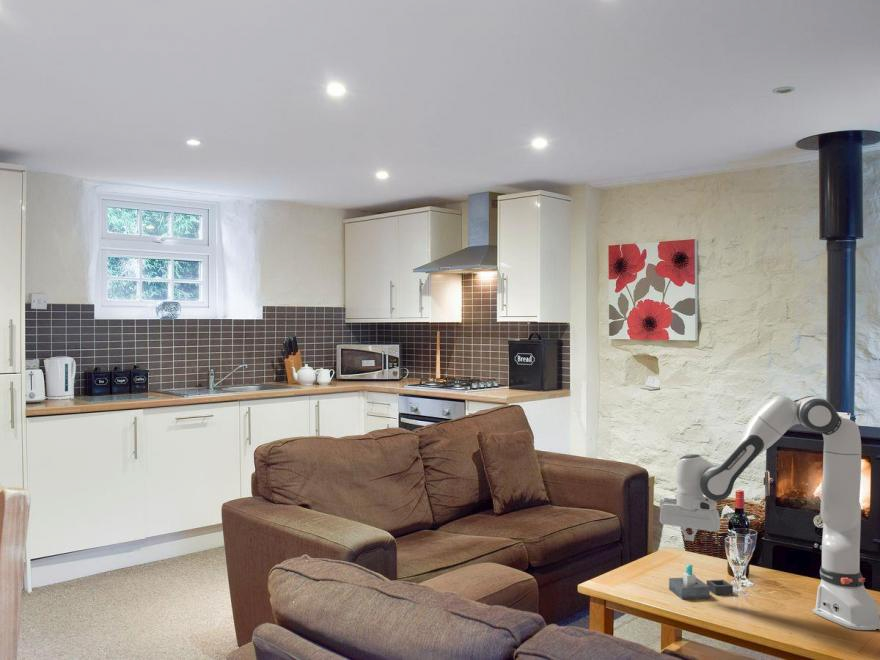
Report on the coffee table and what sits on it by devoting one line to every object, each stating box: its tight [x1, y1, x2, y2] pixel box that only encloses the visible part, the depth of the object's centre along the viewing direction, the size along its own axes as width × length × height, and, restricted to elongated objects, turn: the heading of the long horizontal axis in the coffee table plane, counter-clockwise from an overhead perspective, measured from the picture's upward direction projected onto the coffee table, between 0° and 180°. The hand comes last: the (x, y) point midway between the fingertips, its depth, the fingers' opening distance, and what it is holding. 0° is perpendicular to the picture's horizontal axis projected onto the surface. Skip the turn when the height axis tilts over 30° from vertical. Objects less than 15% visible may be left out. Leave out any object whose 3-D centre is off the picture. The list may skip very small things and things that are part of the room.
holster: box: [706, 579, 734, 596], centre depth 267 cm, size 6×6×3 cm
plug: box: [682, 564, 696, 585], centre depth 264 cm, size 3×3×10 cm
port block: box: [668, 576, 710, 600], centre depth 264 cm, size 10×10×4 cm
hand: (689, 540), depth 264 cm, fingers closed
